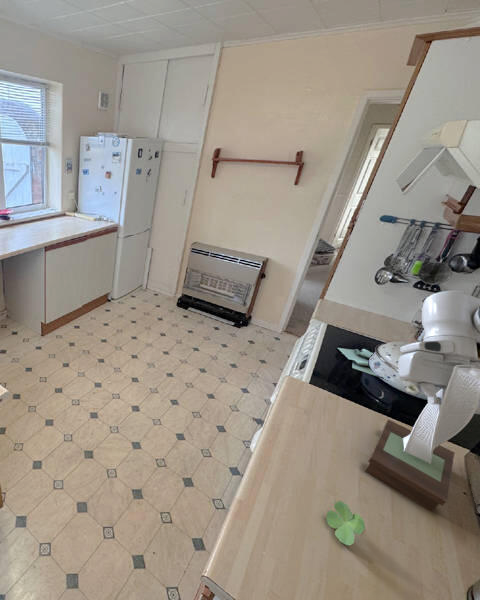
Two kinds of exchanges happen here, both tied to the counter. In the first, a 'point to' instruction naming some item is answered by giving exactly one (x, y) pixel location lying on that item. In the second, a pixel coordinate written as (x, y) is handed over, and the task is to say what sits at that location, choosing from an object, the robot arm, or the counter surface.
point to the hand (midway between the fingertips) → (454, 408)
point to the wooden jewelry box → (411, 468)
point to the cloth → (359, 359)
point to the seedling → (345, 523)
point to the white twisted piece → (445, 413)
